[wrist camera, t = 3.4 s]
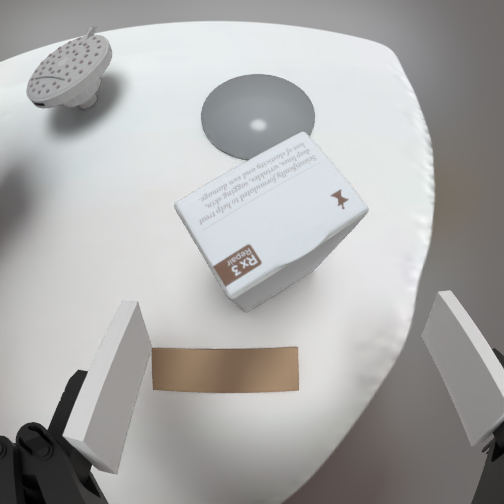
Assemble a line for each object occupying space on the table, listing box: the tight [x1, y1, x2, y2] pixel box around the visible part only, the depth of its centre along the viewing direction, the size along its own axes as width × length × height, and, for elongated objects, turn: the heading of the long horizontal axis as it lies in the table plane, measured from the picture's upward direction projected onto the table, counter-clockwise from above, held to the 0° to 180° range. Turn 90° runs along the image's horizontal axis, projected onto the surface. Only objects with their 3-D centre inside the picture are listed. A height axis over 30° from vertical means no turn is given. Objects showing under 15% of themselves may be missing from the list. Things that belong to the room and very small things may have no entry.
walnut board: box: [152, 347, 299, 393], centre depth 20 cm, size 10×3×1 cm, turn 92°
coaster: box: [201, 74, 315, 160], centre depth 26 cm, size 10×10×1 cm
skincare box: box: [174, 131, 368, 312], centre depth 16 cm, size 6×4×12 cm
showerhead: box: [27, 26, 112, 109], centre depth 24 cm, size 9×7×10 cm
